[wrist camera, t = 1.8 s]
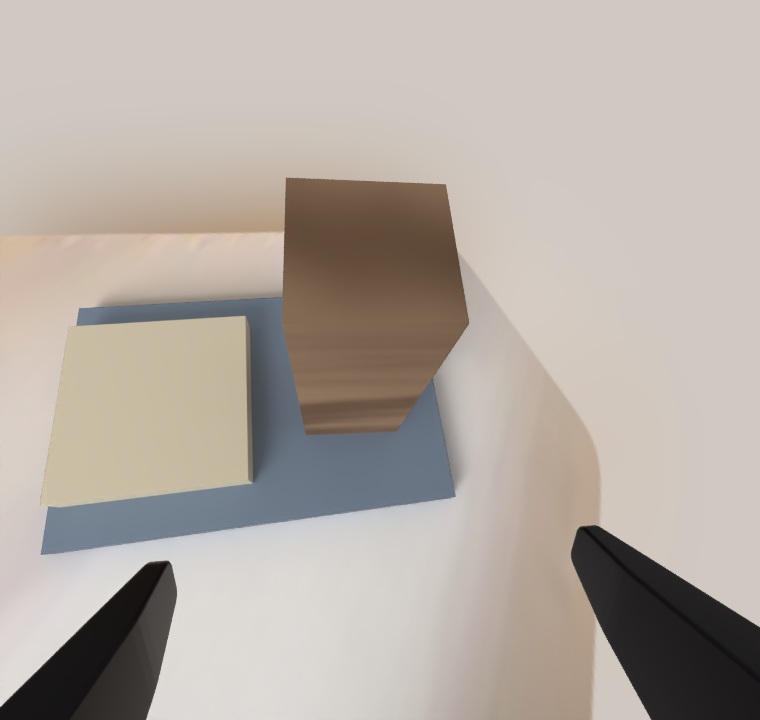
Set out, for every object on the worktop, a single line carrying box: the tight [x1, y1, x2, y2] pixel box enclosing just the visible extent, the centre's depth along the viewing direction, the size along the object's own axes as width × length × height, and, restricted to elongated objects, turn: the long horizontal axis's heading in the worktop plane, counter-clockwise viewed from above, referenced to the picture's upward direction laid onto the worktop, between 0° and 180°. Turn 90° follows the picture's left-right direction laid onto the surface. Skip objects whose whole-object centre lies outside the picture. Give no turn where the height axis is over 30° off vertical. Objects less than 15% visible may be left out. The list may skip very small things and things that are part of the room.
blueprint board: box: [40, 297, 456, 555], centre depth 23 cm, size 20×13×2 cm, turn 98°
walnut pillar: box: [282, 178, 469, 435], centre depth 18 cm, size 5×5×13 cm
